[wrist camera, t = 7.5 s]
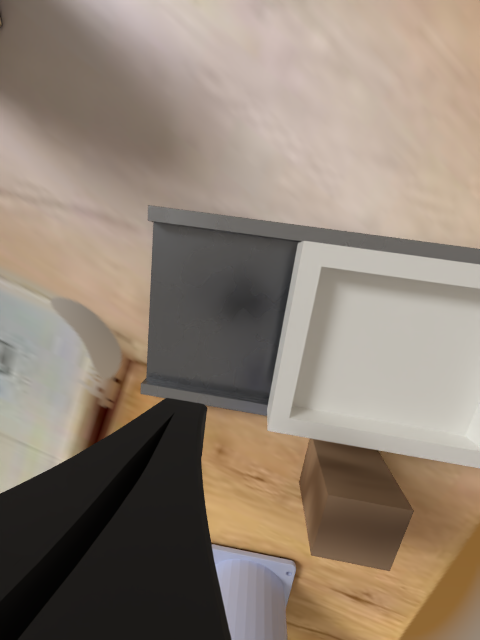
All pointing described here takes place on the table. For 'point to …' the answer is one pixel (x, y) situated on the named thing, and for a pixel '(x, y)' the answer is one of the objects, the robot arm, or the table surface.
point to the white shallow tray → (381, 353)
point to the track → (233, 301)
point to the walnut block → (352, 505)
